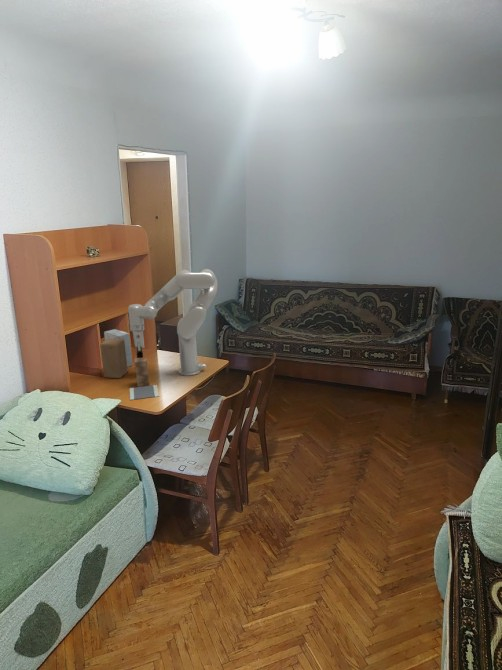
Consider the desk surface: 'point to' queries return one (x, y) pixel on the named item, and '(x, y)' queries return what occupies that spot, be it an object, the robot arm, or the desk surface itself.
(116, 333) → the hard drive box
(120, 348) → the wooden block
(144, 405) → the desk surface
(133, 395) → the mat
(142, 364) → the walnut block
